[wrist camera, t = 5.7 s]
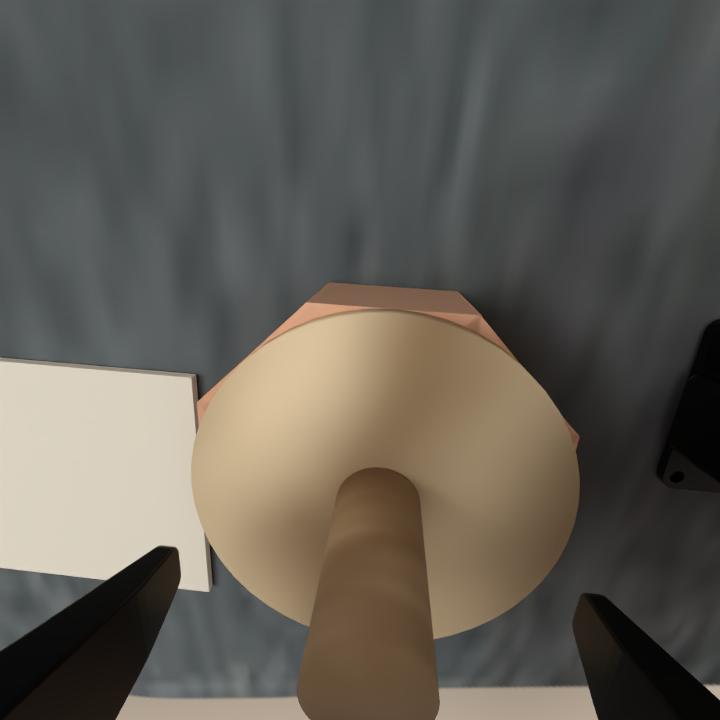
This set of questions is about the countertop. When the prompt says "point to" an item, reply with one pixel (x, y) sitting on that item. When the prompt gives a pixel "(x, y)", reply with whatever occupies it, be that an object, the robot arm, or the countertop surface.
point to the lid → (383, 496)
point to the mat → (97, 469)
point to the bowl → (383, 297)
